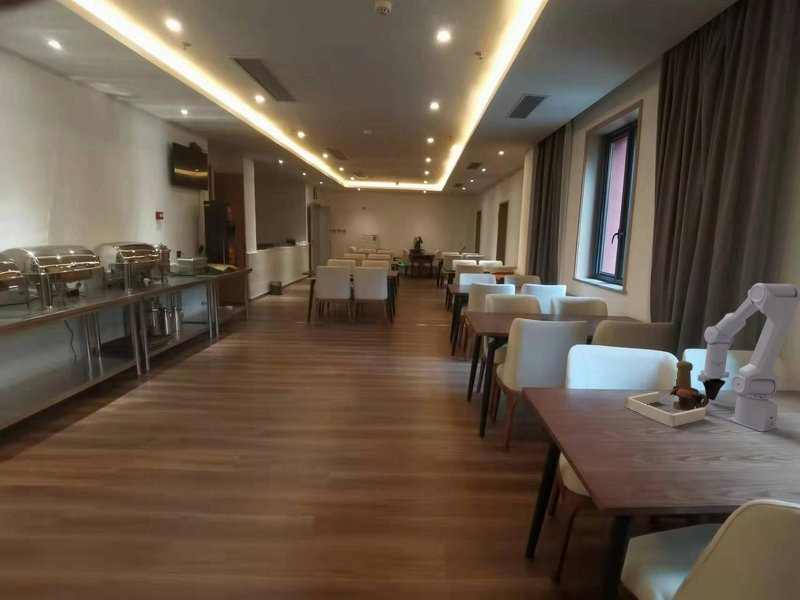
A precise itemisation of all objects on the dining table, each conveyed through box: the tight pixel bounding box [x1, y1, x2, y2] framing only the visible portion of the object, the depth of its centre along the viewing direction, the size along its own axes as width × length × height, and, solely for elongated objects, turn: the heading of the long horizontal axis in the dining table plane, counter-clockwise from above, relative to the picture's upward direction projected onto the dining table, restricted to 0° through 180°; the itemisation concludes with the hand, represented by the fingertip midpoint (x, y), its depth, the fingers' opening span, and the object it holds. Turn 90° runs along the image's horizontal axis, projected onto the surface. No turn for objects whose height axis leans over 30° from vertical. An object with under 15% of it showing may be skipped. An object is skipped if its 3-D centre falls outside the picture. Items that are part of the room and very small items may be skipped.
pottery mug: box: [669, 386, 710, 411], centre depth 141 cm, size 12×10×8 cm
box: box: [624, 391, 707, 428], centre depth 136 cm, size 16×16×4 cm
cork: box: [676, 360, 694, 388], centre depth 159 cm, size 6×6×11 cm
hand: (710, 399), depth 146 cm, fingers closed
